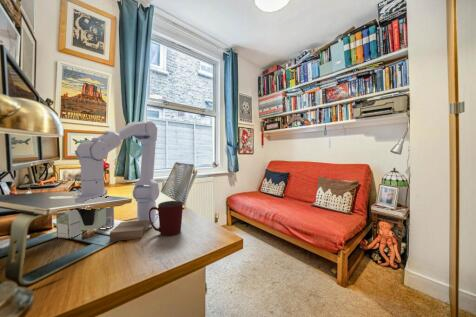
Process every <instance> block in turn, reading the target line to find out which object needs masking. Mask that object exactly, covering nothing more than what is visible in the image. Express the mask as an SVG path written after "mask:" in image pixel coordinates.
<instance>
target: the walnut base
mask: <svg viewBox="0 0 476 317" xmlns="http://www.w3.org/2000/svg"><path fill="white" fill-rule="evenodd" d="M149 224H150V223H149V220H146V221H136V220H133V221H121V222H120V223H118V224H117V226H115V227H114V228H113V229H112V230H111V231H110V232H109V241H110V242H115V241H117V242H118V241H126V240H127V241H128V240H140V239H143V237H144V235H145V234H146V232H147V230H148V229H149Z"/></svg>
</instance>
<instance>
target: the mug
mask: <svg viewBox="0 0 476 317" xmlns="http://www.w3.org/2000/svg"><path fill="white" fill-rule="evenodd" d="M183 206H184V203H183V201H180V200H167V201H163V202H159V203H158V204H157V206H156V207H152V208H151V209H150V210H149V220H150V223H149V224H150V225H151V227H152V229H153V230H154V231H156V232H159V233H160V235H161V236H163V237H172V236H177V235H179V234H180V233H181V232H182V224H183V223H182V222H183V221H182V220H183V209H184V207H183ZM154 209H156V212H157V213H158V214H157V215H158V223H159V225H158V226H159V227H156V226H155V225H154V222H153V223H152V221H151V217H150V212H151V211H152V210H154Z"/></svg>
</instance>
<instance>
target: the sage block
mask: <svg viewBox="0 0 476 317" xmlns="http://www.w3.org/2000/svg"><path fill="white" fill-rule="evenodd" d="M79 216H80V214H79ZM105 223H106V208H100V209H96V211H95V216H94V223H93V225H90V226H84V224H83V221H82V218H81V216H80V230H85V231H86V230H87V231H88V230H100V229H99V228H100V227H101V226H103V225H104V224H105Z"/></svg>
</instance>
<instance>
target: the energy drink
mask: <svg viewBox="0 0 476 317" xmlns="http://www.w3.org/2000/svg"><path fill="white" fill-rule="evenodd" d="M113 225H114V226H115V206H114V207H110V208H106V223H105V224H104V225H103V226H101V227H100V228H107V227H111V226H113ZM114 226H113V227H114ZM111 228H112V227H111Z"/></svg>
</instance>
